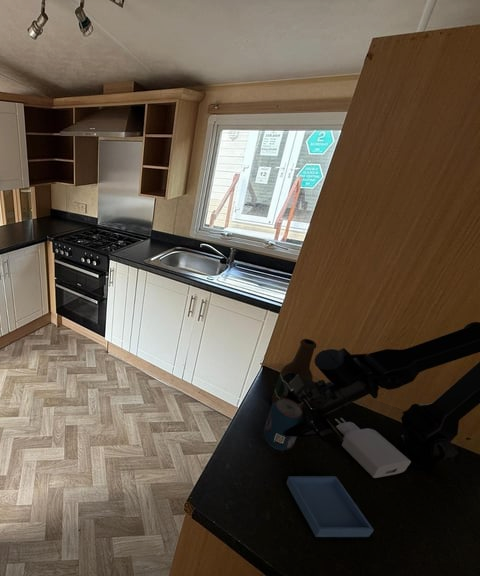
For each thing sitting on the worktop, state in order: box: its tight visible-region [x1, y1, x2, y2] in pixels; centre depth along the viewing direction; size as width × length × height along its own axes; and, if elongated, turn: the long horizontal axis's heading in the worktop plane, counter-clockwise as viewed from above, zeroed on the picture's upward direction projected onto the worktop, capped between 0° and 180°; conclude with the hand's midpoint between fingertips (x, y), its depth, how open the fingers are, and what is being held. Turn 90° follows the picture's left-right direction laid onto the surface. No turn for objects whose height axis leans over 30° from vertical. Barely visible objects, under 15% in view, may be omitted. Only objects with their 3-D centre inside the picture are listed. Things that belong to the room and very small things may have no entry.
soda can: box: [263, 398, 305, 451], centre depth 78 cm, size 7×7×12 cm
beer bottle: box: [271, 338, 317, 409], centre depth 89 cm, size 8×8×24 cm
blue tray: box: [285, 475, 375, 538], centre depth 68 cm, size 11×11×3 cm
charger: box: [334, 417, 411, 479], centre depth 81 cm, size 5×9×15 cm
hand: (277, 422), depth 78 cm, fingers closed on soda can, 7 cm apart
